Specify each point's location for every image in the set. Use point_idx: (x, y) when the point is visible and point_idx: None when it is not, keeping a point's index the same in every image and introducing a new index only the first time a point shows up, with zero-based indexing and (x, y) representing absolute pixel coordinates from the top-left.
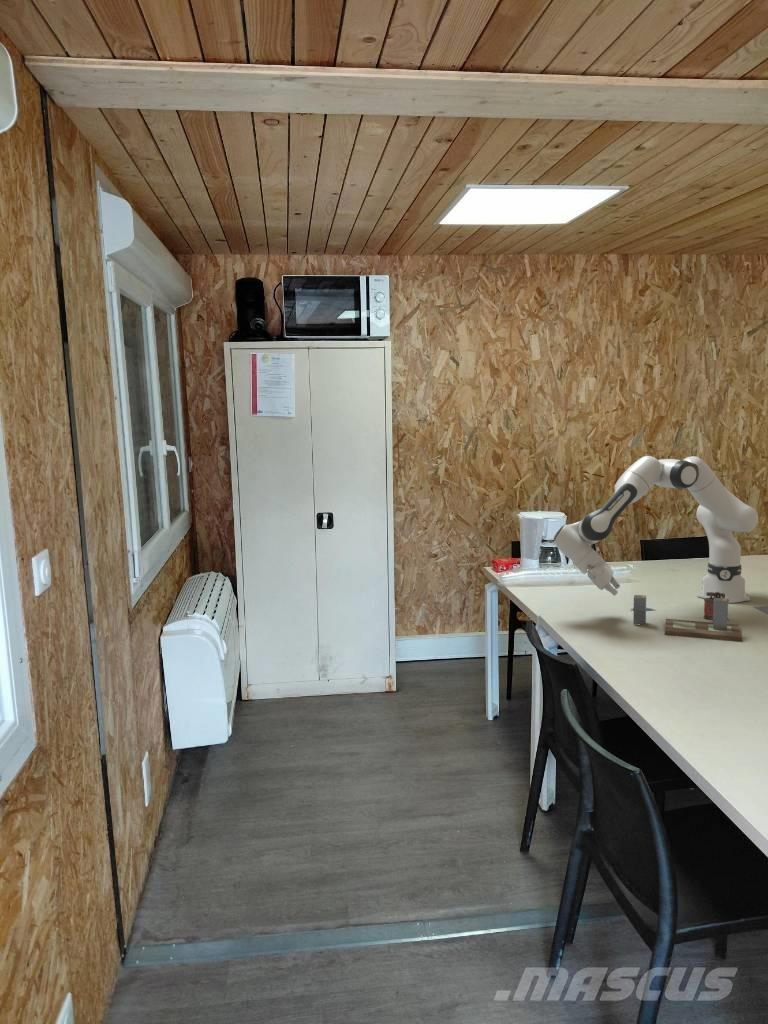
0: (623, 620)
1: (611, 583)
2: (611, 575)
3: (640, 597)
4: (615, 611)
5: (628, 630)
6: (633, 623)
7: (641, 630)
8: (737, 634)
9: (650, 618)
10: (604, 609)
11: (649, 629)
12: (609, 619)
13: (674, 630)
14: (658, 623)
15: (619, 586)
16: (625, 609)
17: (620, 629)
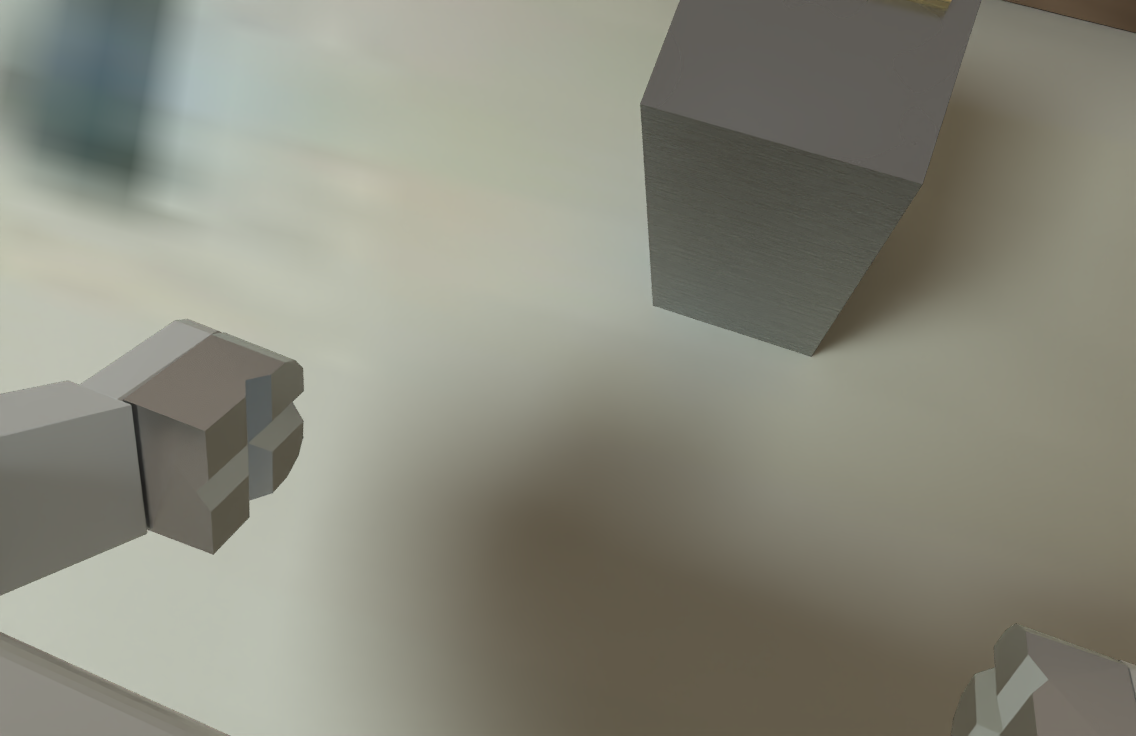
0: (589, 438)
1: (47, 573)
2: (21, 694)
3: (907, 27)
4: None
5: (1104, 503)
6: (814, 349)
7: (1089, 316)
8: None
9: (515, 59)
10: None
11: (1031, 196)
12: (527, 637)
13: None
14: None
15: (294, 367)
16: (69, 268)
17: (1060, 613)
